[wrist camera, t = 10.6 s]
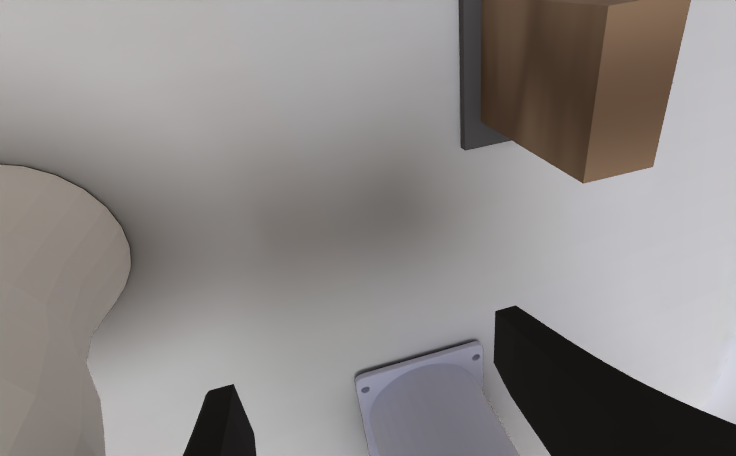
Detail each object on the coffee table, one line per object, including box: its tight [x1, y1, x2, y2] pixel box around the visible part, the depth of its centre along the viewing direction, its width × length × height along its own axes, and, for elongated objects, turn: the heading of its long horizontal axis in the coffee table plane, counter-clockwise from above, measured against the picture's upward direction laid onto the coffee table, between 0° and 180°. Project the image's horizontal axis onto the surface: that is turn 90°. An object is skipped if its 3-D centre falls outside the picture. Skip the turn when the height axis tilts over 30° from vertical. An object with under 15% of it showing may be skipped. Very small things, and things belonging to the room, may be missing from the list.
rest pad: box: [459, 0, 511, 150], centre depth 19 cm, size 7×4×1 cm, turn 8°
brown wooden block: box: [481, 0, 691, 183], centre depth 16 cm, size 5×2×7 cm, turn 8°
